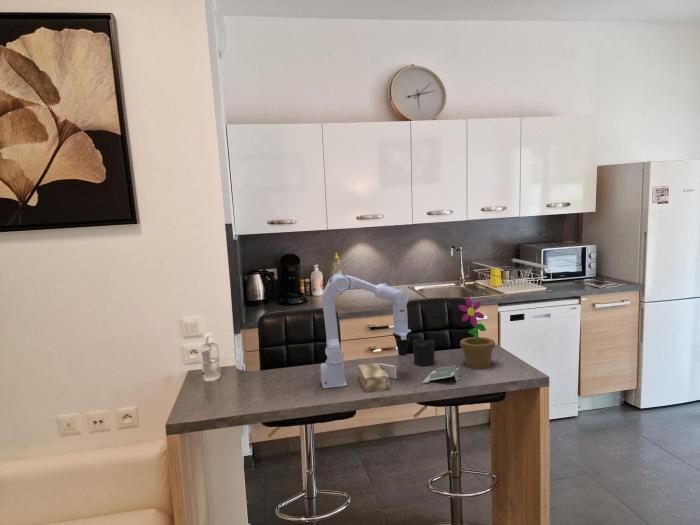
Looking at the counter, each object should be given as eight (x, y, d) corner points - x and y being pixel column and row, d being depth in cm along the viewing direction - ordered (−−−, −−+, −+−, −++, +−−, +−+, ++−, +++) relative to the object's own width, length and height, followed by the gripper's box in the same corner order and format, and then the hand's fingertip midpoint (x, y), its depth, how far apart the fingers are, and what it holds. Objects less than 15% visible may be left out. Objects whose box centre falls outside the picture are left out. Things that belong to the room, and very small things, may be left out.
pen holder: (422, 368, 206) (421, 345, 205) (409, 362, 214) (408, 340, 213) (439, 363, 211) (438, 341, 209) (426, 358, 219) (425, 337, 218)
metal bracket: (461, 361, 195) (451, 373, 182) (465, 375, 195) (455, 387, 182) (429, 367, 202) (417, 379, 189) (433, 380, 202) (421, 393, 189)
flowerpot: (454, 365, 207) (451, 296, 204) (473, 357, 217) (471, 291, 213) (483, 372, 196) (481, 300, 193) (502, 363, 206) (500, 294, 203)
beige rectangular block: (365, 392, 182) (365, 378, 182) (358, 378, 198) (358, 365, 198) (391, 389, 184) (390, 375, 183) (382, 375, 200) (381, 362, 199)
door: (395, 378, 194) (394, 366, 194) (379, 375, 199) (378, 364, 198) (396, 378, 195) (395, 366, 195) (380, 375, 200) (380, 363, 199)
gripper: (413, 323, 188) (414, 357, 189) (407, 315, 202) (408, 347, 204) (395, 324, 187) (396, 358, 189) (390, 316, 202) (392, 348, 203)
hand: (401, 352), depth 196 cm, fingers open, 7 cm apart
